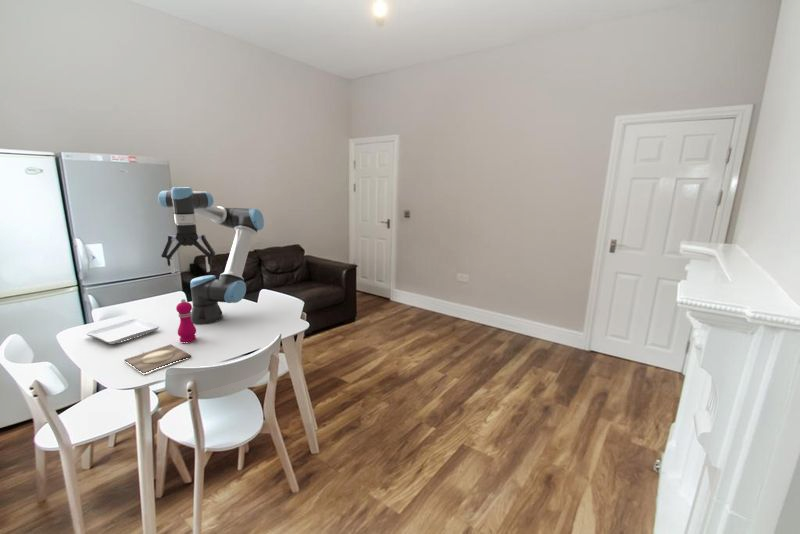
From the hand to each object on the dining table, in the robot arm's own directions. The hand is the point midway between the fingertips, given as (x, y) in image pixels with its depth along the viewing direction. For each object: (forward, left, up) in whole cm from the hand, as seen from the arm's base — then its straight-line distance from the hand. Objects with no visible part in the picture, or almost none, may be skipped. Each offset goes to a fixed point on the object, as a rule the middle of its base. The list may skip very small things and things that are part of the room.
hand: (191, 272), depth 153 cm
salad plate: (-33, -17, -33) cm, 50 cm away
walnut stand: (+6, -19, -32) cm, 38 cm away
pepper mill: (-3, -3, -32) cm, 33 cm away
